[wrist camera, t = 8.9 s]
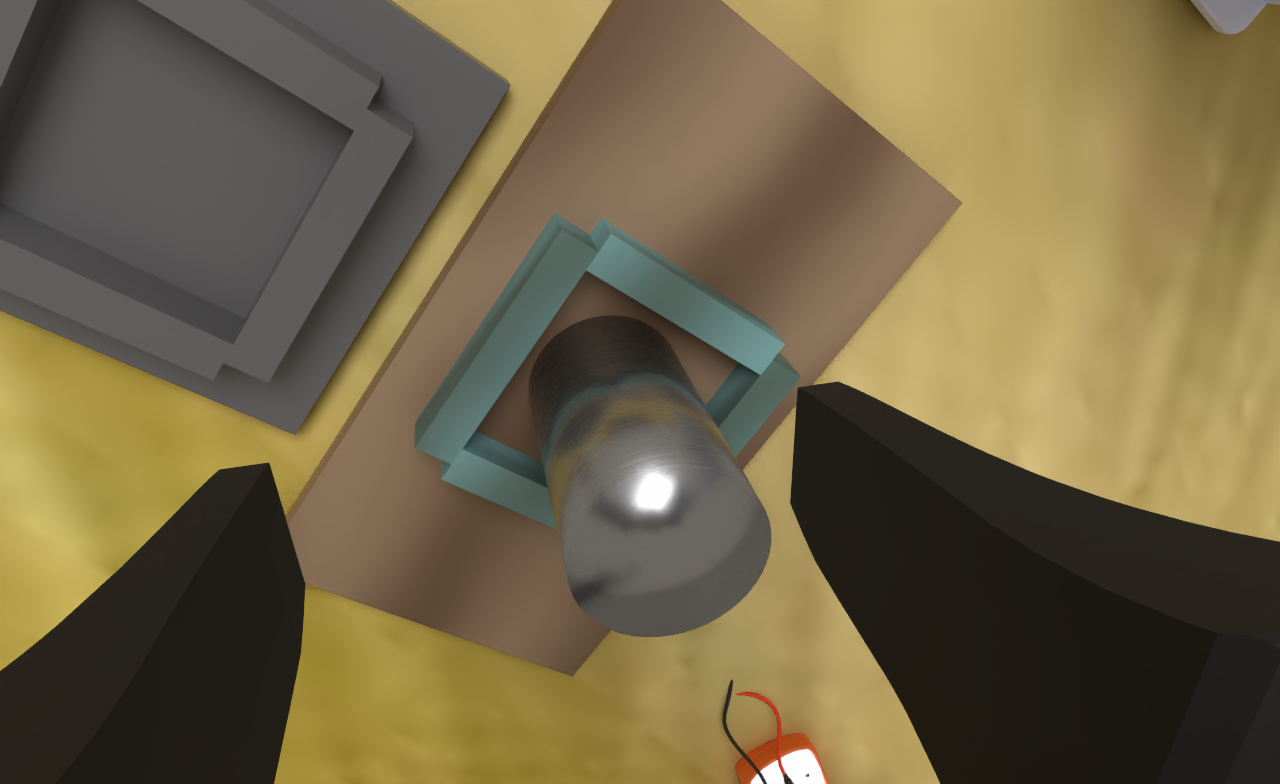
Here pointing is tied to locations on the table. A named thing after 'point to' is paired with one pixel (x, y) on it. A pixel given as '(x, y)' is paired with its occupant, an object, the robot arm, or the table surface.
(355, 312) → the socket block
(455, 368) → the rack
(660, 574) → the peg
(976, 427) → the table surface
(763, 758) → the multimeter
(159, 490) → the table surface
